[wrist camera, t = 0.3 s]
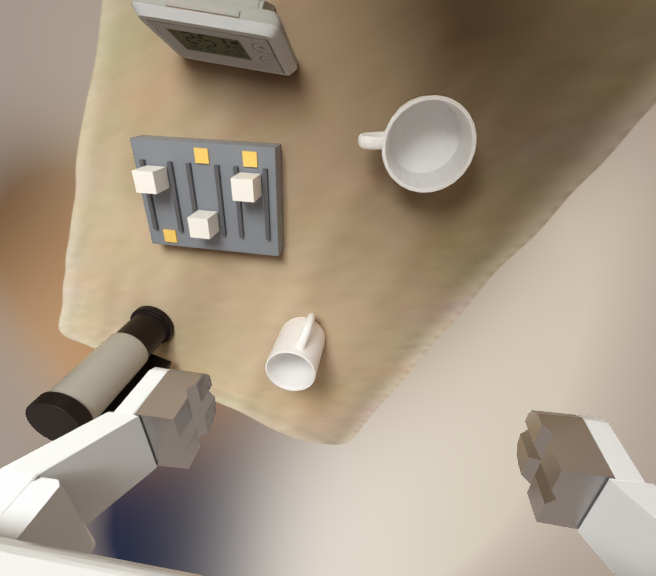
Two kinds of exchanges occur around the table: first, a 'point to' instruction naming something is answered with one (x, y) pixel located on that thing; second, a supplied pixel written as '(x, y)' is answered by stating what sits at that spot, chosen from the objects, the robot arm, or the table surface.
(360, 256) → the table surface
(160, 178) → the slider
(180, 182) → the switch unit
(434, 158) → the mug
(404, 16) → the table surface
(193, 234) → the slider
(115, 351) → the light fixture
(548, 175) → the table surface
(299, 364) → the mug
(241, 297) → the table surface
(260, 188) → the slider
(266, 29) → the digital clock
